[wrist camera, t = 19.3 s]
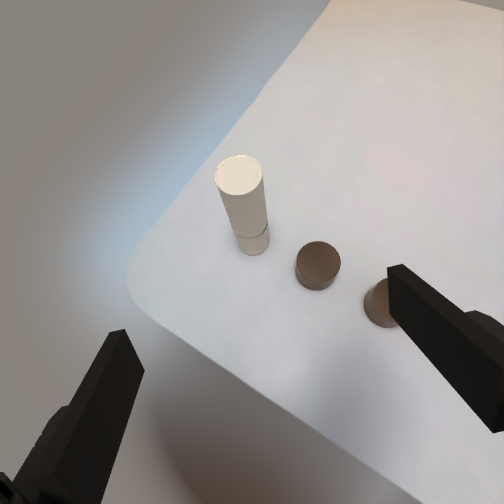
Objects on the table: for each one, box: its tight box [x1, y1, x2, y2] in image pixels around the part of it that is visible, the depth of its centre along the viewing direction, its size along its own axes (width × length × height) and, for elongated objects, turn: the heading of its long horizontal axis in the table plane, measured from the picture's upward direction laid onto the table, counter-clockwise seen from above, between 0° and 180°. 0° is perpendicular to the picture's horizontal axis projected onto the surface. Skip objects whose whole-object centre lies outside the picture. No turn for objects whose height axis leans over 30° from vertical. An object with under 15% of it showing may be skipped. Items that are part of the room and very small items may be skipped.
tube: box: [215, 155, 269, 255], centre depth 34 cm, size 4×4×15 cm
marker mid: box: [296, 241, 341, 290], centre depth 37 cm, size 5×5×4 cm
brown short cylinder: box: [364, 278, 399, 328], centre depth 34 cm, size 5×5×4 cm
